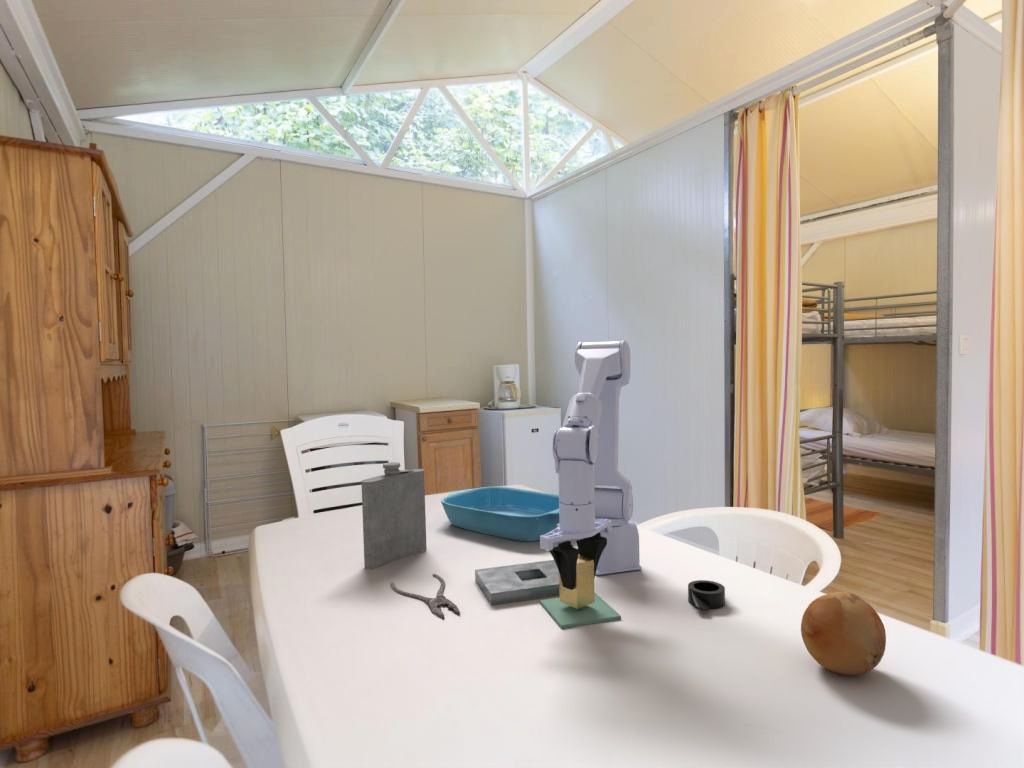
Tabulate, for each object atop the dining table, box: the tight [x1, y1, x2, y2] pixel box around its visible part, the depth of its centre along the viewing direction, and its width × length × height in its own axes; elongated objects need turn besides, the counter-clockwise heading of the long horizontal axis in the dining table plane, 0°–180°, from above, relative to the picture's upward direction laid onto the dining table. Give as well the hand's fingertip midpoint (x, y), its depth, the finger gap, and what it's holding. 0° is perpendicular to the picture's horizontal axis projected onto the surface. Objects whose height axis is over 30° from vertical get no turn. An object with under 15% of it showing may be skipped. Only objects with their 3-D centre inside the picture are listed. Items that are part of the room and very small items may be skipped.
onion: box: [800, 591, 887, 676], centre depth 77 cm, size 10×10×10 cm
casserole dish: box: [440, 485, 559, 542], centre depth 148 cm, size 37×22×7 cm, turn 49°
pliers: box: [390, 573, 461, 620], centre depth 106 cm, size 10×1×20 cm
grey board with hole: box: [474, 559, 560, 606], centre depth 109 cm, size 18×12×2 cm, turn 106°
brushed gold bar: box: [559, 555, 596, 609], centre depth 97 cm, size 4×4×7 cm
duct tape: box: [687, 579, 726, 612], centre depth 99 cm, size 8×10×3 cm
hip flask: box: [360, 461, 427, 570], centre depth 126 cm, size 16×4×20 cm, turn 141°
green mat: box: [539, 591, 622, 629], centre depth 97 cm, size 10×10×1 cm
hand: (578, 584), depth 97 cm, fingers closed on brushed gold bar, 4 cm apart
